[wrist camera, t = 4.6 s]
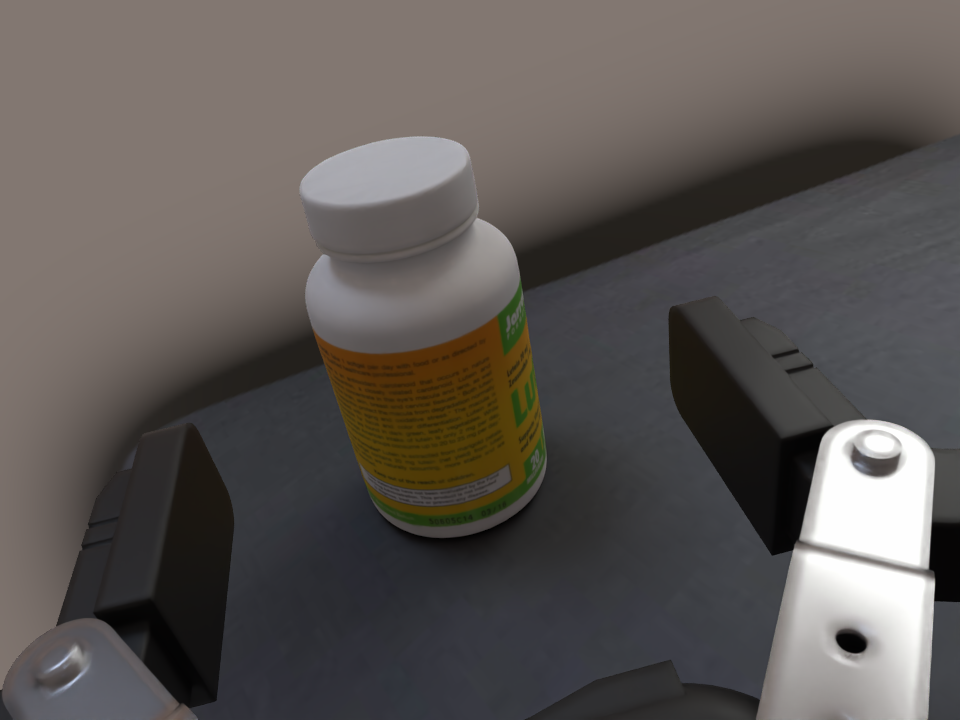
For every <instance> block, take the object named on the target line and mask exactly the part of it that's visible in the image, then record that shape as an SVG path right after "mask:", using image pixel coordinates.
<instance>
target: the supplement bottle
mask: <svg viewBox="0 0 960 720" xmlns="http://www.w3.org/2000/svg"><path fill="white" fill-rule="evenodd" d="M299 191H300V196H301V200H302V204H303V207H304V210H305V214H306V218H307V222H308V226H309V230H310V233H311V236H312V238H313V239H314V240H315V242H316V245H317V247H318V248H319V249H320V250H321V251H322V252H323V253H324V254H323V255H322V256H321V257H320V258H319V260H318V261H317V262H316V264H315V265H314V267H313V268H312V270H311V273H310V275H309V278H308V280H307V284H306V291H305V301H306V307H307V311H308V314H309V318H310V321H311V325H312V328H313V331H314V334H315V337H316V340H317V343H318V346H319V349H320V352H321V355H322V357H323V360H324V363H325V366H326V369H327V372H328V375H329V378H330V381H331V384H332V387H333V390H334V393H335V396H336V399H337V402H338V405H339V407H340V410H341V413H342V416H343V419H344V422H345V425H346V428H347V431H348V434H349V437H350V440H351V443H352V446H353V449H354V452H355V455H356V458H357V461H358V464H359V467H360V470H361V473H362V476H363V479H364V481H365V484H366V487H367V490H368V492H369V495H370V497H371V499H372V501H373V503H374V505H375V506H376V508H377V509H378V511H379V512H380V513H381V514H382V515H383V516H384V517H385V518H386V519H387V520H388V521H389V522H391V523H392V524H393V525H395V526H397V527H399V528H400V529H402V530H405V531H407V532H410V533H413V534H416V535H420V536H425V537H431V538H452V537H460V536H466V535H471V534H475V533H478V532H481V531H484V530H487V529H490V528H492V527H494V526H496V525H498V524H500V523H502V522H504V521H506V520H507V519H509V518H510V517H512V516H513V515H515V514H516V513H517V512H519V511H520V510H521V509H522V508H523V507H524V506H525V505H527V504H528V503H529V502H530V500H531V499H532V498H533V497H534V495H535V494H536V492H537V491H538V489H539V487H540V485H541V483H542V481H543V478H544V475H545V471H546V463H547V454H546V444H545V437H544V430H543V424H542V417H541V411H540V404H539V398H538V392H537V385H536V379H535V372H534V366H533V360H532V352H531V347H530V340H529V333H528V326H527V319H526V313H525V306H524V299H523V293H522V287H521V280H520V274H519V269H518V264H517V259H516V255H515V252H514V250H513V247H512V245H511V244H510V242H509V240H508V239H507V238H506V236H505V235H504V234H503V233H502V232H500V231H499V230H498V229H497V228H496V227H494V226H493V225H491V224H489V223H488V222H486V221H484V220H481V219H479V218H477V215H478V212H479V202H478V196H477V190H476V184H475V178H474V174H473V169H472V164H471V160H470V155H469V153H468V151H467V150H466V149H465V147H464V146H462V145H461V144H459V143H457V142H455V141H452V140H449V139H444V138H439V137H404V138H395V139H388V140H383V141H378V142H374V143H370V144H366V145H363V146H359V147H356V148H353V149H350V150H348V151H345V152H342V153H340V154H337V155H335V156H333V157H331V158H329V159H327V160H325V161H323V162H321V163H320V164H319V165H317V166H315V167H314V168H313V169H311V171H309V172H308V173H307V174H306V175H305V176H304V178H303V179H302V181H301V183H300V190H299Z"/></svg>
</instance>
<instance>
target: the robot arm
mask: <svg viewBox="0 0 960 720" xmlns="http://www.w3.org/2000/svg"><path fill="white" fill-rule="evenodd" d="M669 355H670V383H671V389H672V394H673V397H674V401H675V404H676V406H677V409H678V411H679V413H680V415H681V416H682V418H683V419H684V421H685V423H686V424H687V426H688V427H689V429H690V430H691V432H692V433H693V435H694V436H695V438H696V439H697V441H698V443H699V444H700V446H701V447H702V449H703V450H704V452H705V453H706V455H707V456H708V458H709V459H710V461H711V462H712V464H713V466H714V467H715V469H716V470H717V472H718V473H719V475H720V476H721V478H722V479H723V481H724V482H725V484H726V485H727V487H728V489H729V490H730V492H731V493H732V495H733V496H734V498H735V499H736V501H737V502H738V504H739V505H740V507H741V508H742V510H743V512H744V513H745V515H746V516H747V518H748V519H749V521H750V522H751V524H752V525H753V527H754V528H755V530H756V531H757V533H758V535H759V536H760V538H761V539H762V541H763V542H764V544H765V545H766V547H767V548H768V550H769V551H770V553H771V555H772V556H773V555H776V554H780V553H784V552H788V551H791V550H793V554H792V559H791V563H790V568H789V572H788V577H787V582H786V586H785V591H784V595H783V600H782V604H781V609H780V613H779V618H778V622H777V627H776V631H775V636H774V640H773V645H772V649H771V654H770V658H769V663H768V667H767V672H766V676H765V681H764V685H763V690H762V694H761V699H760V700H759V699H757V698H755V697H753V696H750V695H747V694H744V693H741V692H738V691H735V690H732V689H727V688H723V687H718V686H714V685H705V684H695V683H681V681H680V679H679V677H678V675H677V672H676V670H675V668H674V666H673V663H672V661H671V660H668V661H664V662H661V663H657V664H653V665H650V666H646V667H642V668H639V669H635V670H631V671H627V672H624V673H620V674H616V675H613V676H609V677H605V678H602V679H598V680H595V681H593V682H592V683H590V684H588V685H586V686H585V687H583V688H581V689H579V690H577V691H576V692H574V693H572V694H570V695H569V696H567V697H565V698H563V699H562V700H560V701H558V702H556V703H554V704H553V705H551V706H549V707H547V708H546V709H544V710H542V711H540V712H539V713H537V714H535V715H533V716H532V717H530V718H528V719H525V720H928V705H929V686H930V667H931V648H932V629H933V610H934V601H945V602H960V449H936V448H930V447H929V446H928V444H927V443H926V442H925V441H924V440H923V439H922V438H920V437H919V436H918V435H917V434H915V433H913V432H912V431H910V430H908V429H906V428H904V427H901V426H899V425H896V424H893V423H889V422H884V421H879V420H867V419H866V418H865V417H864V416H863V415H862V414H861V413H860V412H859V411H858V410H857V409H856V408H855V407H854V406H853V405H852V403H851V402H850V401H849V400H848V399H847V398H846V397H845V396H844V395H843V394H842V393H841V392H840V391H839V390H838V389H837V388H836V387H835V386H834V385H833V384H832V383H831V382H830V381H829V380H828V379H827V378H826V377H825V376H824V375H823V373H822V372H821V371H820V370H819V369H818V368H817V367H816V368H814V367H813V363H812V362H811V361H810V360H809V359H808V358H807V357H806V356H805V355H804V354H803V353H802V352H801V353H799V350H798V348H797V347H796V346H795V345H794V343H793V342H792V341H791V340H790V339H789V338H788V337H787V336H786V335H785V334H784V333H783V332H782V331H781V330H779V329H777V328H775V327H773V326H771V325H769V324H767V323H765V322H763V321H760V320H758V319H756V318H754V317H751V318H747V319H743V320H739V319H738V318H737V317H736V316H735V315H734V314H733V313H732V312H731V310H730V309H729V308H728V307H727V306H726V305H725V304H724V303H723V302H722V300H721V299H720V298H718V297H717V296H713V297H709V298H704V299H700V300H696V301H692V302H688V303H684V304H680V305H676V306H672V307H671V308H670V311H669ZM88 525H89V529H87V530H86V532H85V536H84V539H83V542H82V551H80V552H79V555H78V558H77V561H76V565H75V567H74V571H73V574H72V577H71V580H70V583H69V587H68V590H67V593H66V596H65V599H64V603H63V606H62V609H61V613H60V615H59V619H58V622H57V625H56V627H55V628H53V629H51V630H49V631H47V632H46V633H44V634H43V635H41V636H40V637H38V638H37V639H36V640H35V641H33V642H32V643H31V644H30V645H29V646H28V647H27V648H26V649H25V650H24V651H23V652H22V653H21V654H20V655H19V656H18V658H17V659H16V660H15V662H14V663H13V665H12V666H11V668H10V669H9V671H8V674H7V675H6V678H5V681H4V684H3V689H2V690H0V720H199V719H198V718H197V717H196V716H195V715H194V714H193V713H192V711H191V710H190V709H189V708H192V707H196V706H200V705H203V704H207V703H211V702H215V701H216V700H217V690H218V680H219V670H220V660H221V650H222V640H223V630H224V621H225V611H226V601H227V591H228V581H229V571H230V561H231V551H232V541H233V532H234V515H233V508H232V504H231V500H230V496H229V493H228V491H227V489H226V486H225V484H224V482H223V480H222V478H221V476H220V474H219V472H218V470H217V468H216V466H215V464H214V462H213V460H212V458H211V456H210V454H209V452H208V450H207V447H206V445H205V443H204V441H203V439H202V437H201V435H200V433H199V431H198V430H197V428H196V427H195V426H194V425H193V424H192V423H186V424H182V425H178V426H174V427H170V428H165V429H161V430H157V431H153V432H149V433H145V434H143V435H142V436H141V438H140V441H139V444H138V448H137V452H136V455H135V459H134V463H133V466H132V469H128V470H124V471H120V472H116V474H115V475H114V476H113V478H112V479H111V480H110V481H109V483H108V484H107V485H106V486H105V488H104V489H103V490H102V492H101V493H100V494H99V495H98V497H97V498H96V501H95V504H94V507H93V510H92V513H91V516H90V520H89V523H88Z"/></svg>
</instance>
